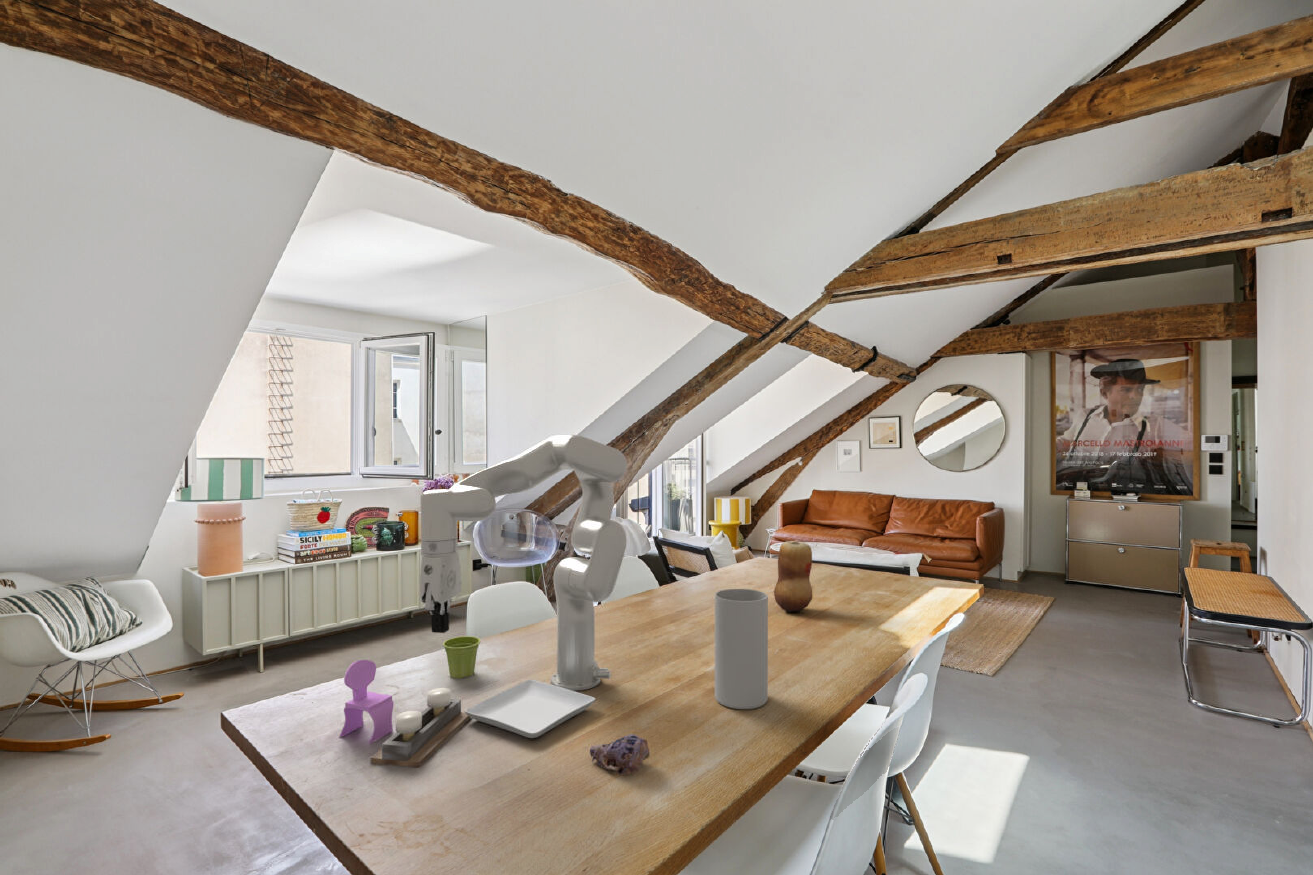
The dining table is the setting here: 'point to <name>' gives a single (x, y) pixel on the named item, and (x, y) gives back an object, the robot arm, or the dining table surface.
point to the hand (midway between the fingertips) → (440, 631)
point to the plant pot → (461, 655)
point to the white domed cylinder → (408, 724)
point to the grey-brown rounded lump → (621, 754)
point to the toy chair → (366, 701)
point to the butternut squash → (794, 576)
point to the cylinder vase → (741, 648)
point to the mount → (422, 738)
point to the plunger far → (438, 699)
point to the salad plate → (530, 708)
